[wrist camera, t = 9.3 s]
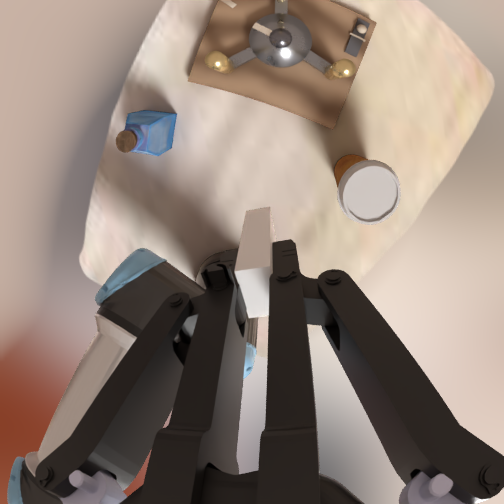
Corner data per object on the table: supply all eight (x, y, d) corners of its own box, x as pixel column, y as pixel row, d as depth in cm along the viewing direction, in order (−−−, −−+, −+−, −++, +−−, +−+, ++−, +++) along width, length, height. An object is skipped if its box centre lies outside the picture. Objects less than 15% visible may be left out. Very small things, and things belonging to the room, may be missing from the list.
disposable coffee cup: (328, 200, 48) (342, 232, 38) (321, 148, 44) (335, 166, 34) (378, 193, 47) (403, 223, 37) (374, 142, 42) (402, 159, 32)
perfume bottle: (144, 110, 42) (108, 118, 32) (176, 113, 42) (147, 121, 32) (140, 143, 45) (105, 160, 35) (171, 147, 45) (142, 165, 35)
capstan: (367, 38, 31) (389, 26, 23) (305, 121, 39) (314, 128, 31) (278, -15, 27) (279, -39, 19) (216, 69, 36) (201, 63, 28)
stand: (330, 128, 42) (335, 130, 38) (191, 81, 39) (184, 80, 36) (372, 25, 31) (380, 20, 28) (232, -23, 28) (229, -31, 25)
